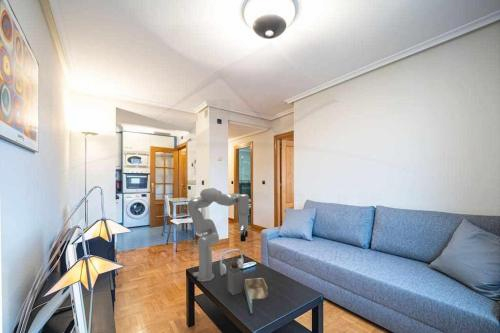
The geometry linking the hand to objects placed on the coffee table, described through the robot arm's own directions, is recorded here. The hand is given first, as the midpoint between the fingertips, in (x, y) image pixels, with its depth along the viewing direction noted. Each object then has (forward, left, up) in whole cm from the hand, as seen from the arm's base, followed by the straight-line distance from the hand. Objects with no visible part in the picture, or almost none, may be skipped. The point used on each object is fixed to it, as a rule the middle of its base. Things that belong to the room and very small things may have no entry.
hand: (244, 239), depth 143 cm
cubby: (+7, -4, -34) cm, 35 cm away
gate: (+1, -17, -34) cm, 38 cm away
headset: (-6, +28, -35) cm, 45 cm away
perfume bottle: (-6, +1, -35) cm, 35 cm away
